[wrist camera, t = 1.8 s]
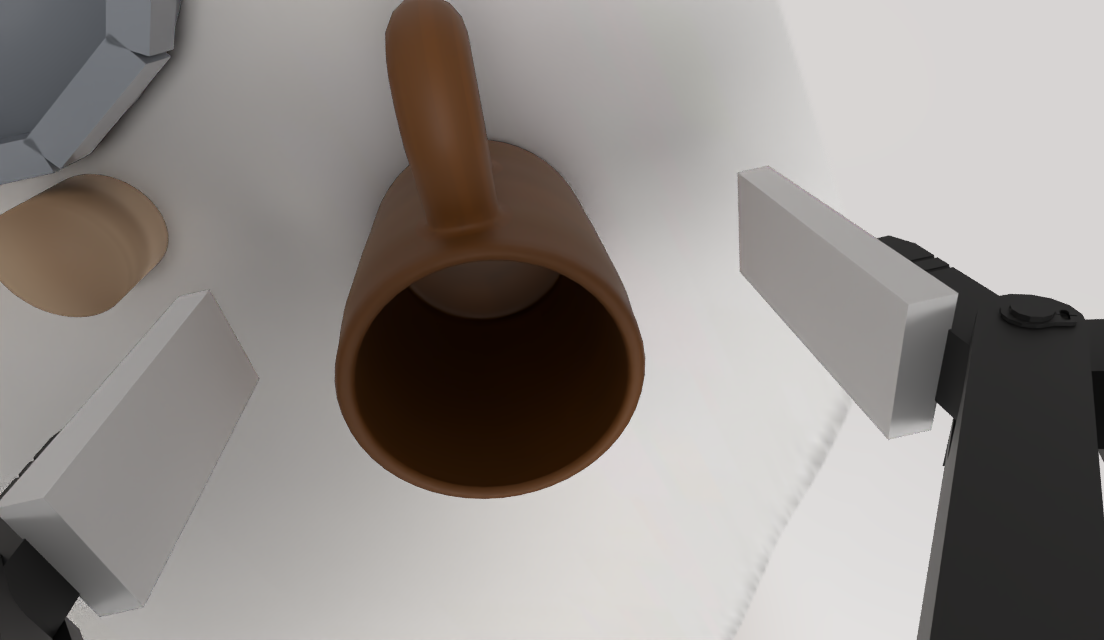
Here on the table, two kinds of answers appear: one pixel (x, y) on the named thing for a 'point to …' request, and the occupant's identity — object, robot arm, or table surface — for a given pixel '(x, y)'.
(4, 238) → the bead
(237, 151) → the table surface
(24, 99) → the saucer
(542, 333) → the mug
